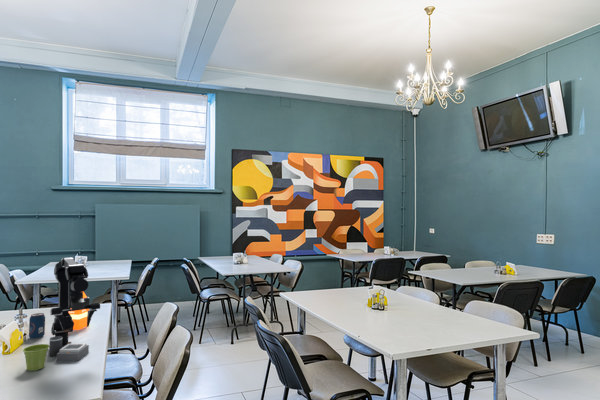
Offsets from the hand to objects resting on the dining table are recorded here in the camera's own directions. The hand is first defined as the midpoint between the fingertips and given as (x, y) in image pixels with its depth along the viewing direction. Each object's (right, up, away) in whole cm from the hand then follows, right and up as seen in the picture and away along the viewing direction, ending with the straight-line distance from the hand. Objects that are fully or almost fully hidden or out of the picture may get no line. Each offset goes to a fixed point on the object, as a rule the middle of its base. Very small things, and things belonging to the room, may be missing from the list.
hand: (75, 328), depth 171 cm
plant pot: (-13, -15, -7) cm, 21 cm away
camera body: (-5, -15, +6) cm, 17 cm away
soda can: (-40, -16, +34) cm, 55 cm away
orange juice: (-29, -17, +52) cm, 62 cm away
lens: (-14, -15, +8) cm, 22 cm away
